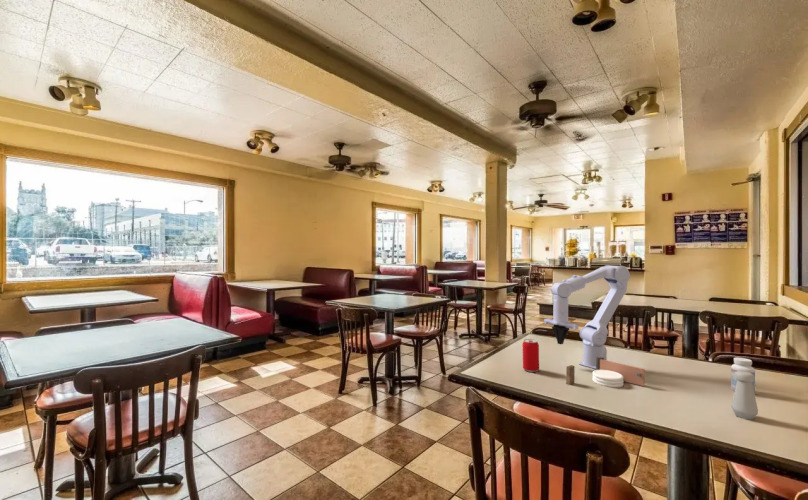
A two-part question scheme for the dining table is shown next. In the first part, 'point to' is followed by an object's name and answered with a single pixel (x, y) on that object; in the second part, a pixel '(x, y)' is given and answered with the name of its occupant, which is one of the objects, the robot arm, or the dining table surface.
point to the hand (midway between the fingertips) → (560, 343)
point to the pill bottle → (741, 365)
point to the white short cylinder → (608, 378)
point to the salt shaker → (744, 396)
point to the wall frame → (571, 371)
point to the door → (625, 371)
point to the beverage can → (530, 355)
